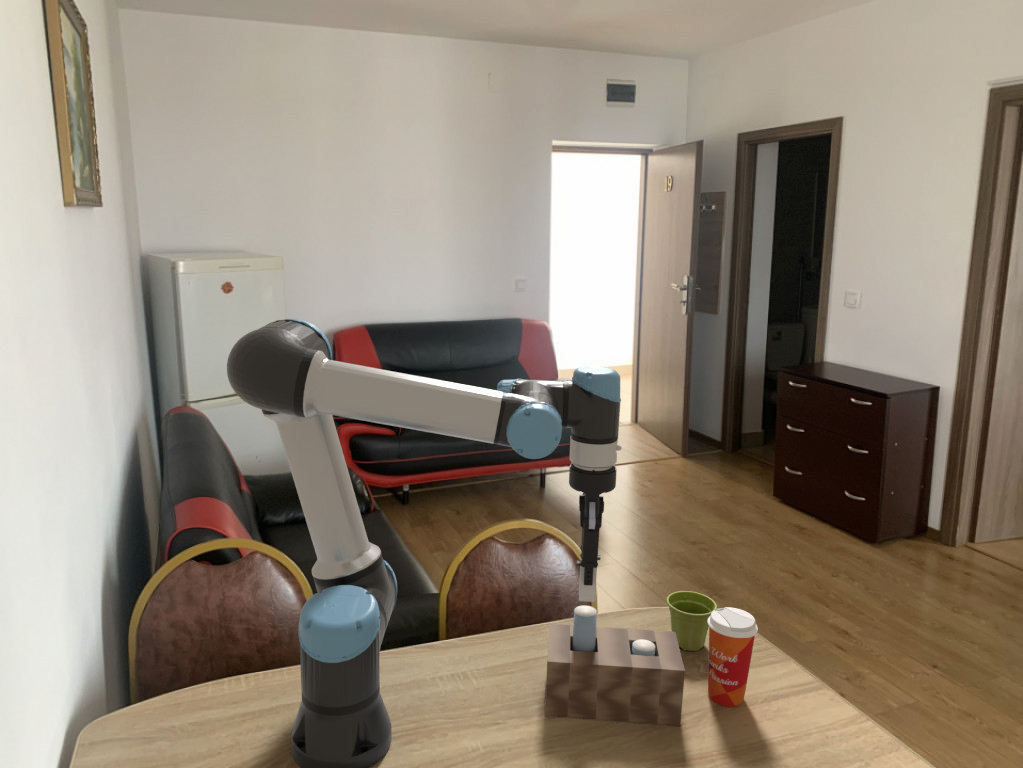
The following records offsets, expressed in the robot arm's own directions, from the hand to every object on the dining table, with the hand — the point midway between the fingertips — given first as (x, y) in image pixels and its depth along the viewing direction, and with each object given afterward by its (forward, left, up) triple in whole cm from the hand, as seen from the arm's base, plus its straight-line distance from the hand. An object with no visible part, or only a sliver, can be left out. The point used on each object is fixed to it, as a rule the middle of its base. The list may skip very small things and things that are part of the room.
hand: (586, 599), depth 129 cm
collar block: (+5, 0, -18) cm, 19 cm away
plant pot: (+21, +20, -19) cm, 34 cm away
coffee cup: (+25, +3, -18) cm, 31 cm away
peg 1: (0, 0, -12) cm, 12 cm away
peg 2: (+10, 0, -18) cm, 20 cm away
